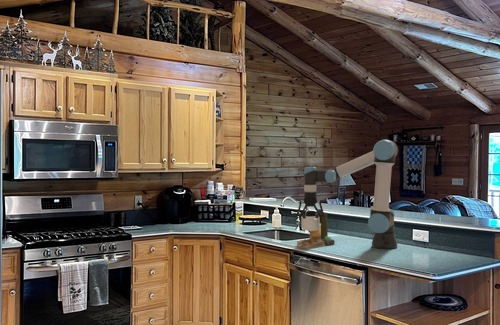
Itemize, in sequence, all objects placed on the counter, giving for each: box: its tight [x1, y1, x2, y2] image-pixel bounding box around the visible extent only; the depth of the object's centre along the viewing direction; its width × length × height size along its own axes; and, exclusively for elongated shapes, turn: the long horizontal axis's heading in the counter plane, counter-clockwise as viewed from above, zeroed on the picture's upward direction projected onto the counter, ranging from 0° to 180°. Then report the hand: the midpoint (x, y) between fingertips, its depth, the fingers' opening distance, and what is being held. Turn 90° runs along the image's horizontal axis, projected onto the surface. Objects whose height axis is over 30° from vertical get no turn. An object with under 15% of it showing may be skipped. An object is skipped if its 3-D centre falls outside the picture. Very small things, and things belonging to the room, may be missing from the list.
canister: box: [315, 208, 329, 240], centre depth 334 cm, size 11×10×20 cm
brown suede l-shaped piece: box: [296, 224, 335, 249], centre depth 307 cm, size 16×21×12 cm
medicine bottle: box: [302, 210, 318, 232], centre depth 303 cm, size 7×7×12 cm
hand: (310, 227), depth 303 cm, fingers closed on medicine bottle, 10 cm apart
